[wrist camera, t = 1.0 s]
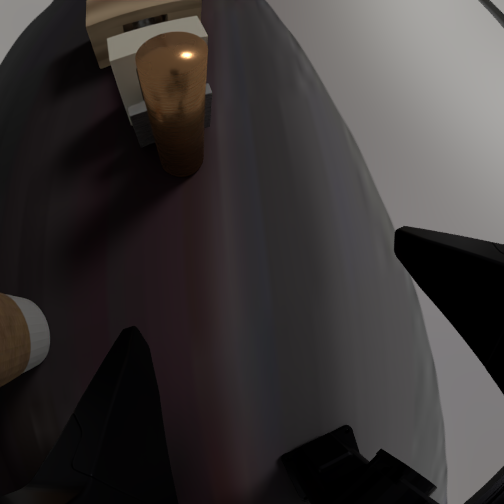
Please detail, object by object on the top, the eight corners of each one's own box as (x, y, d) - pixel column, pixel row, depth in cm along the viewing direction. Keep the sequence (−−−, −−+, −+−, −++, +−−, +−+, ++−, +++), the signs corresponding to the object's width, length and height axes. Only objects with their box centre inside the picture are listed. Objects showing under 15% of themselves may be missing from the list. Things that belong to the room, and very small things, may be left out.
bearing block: (199, 41, 25) (201, -4, 19) (100, 69, 23) (86, 27, 17) (185, 12, 26) (186, -28, 20) (97, 36, 24) (86, -2, 17)
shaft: (223, 165, 23) (242, 61, 12) (151, 188, 22) (114, 93, 10) (165, 15, 25) (163, -62, 14) (117, 28, 24) (102, -47, 12)
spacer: (204, 104, 24) (207, 36, 16) (131, 125, 23) (109, 61, 14) (195, 82, 24) (197, 15, 16) (126, 102, 23) (107, 38, 15)
